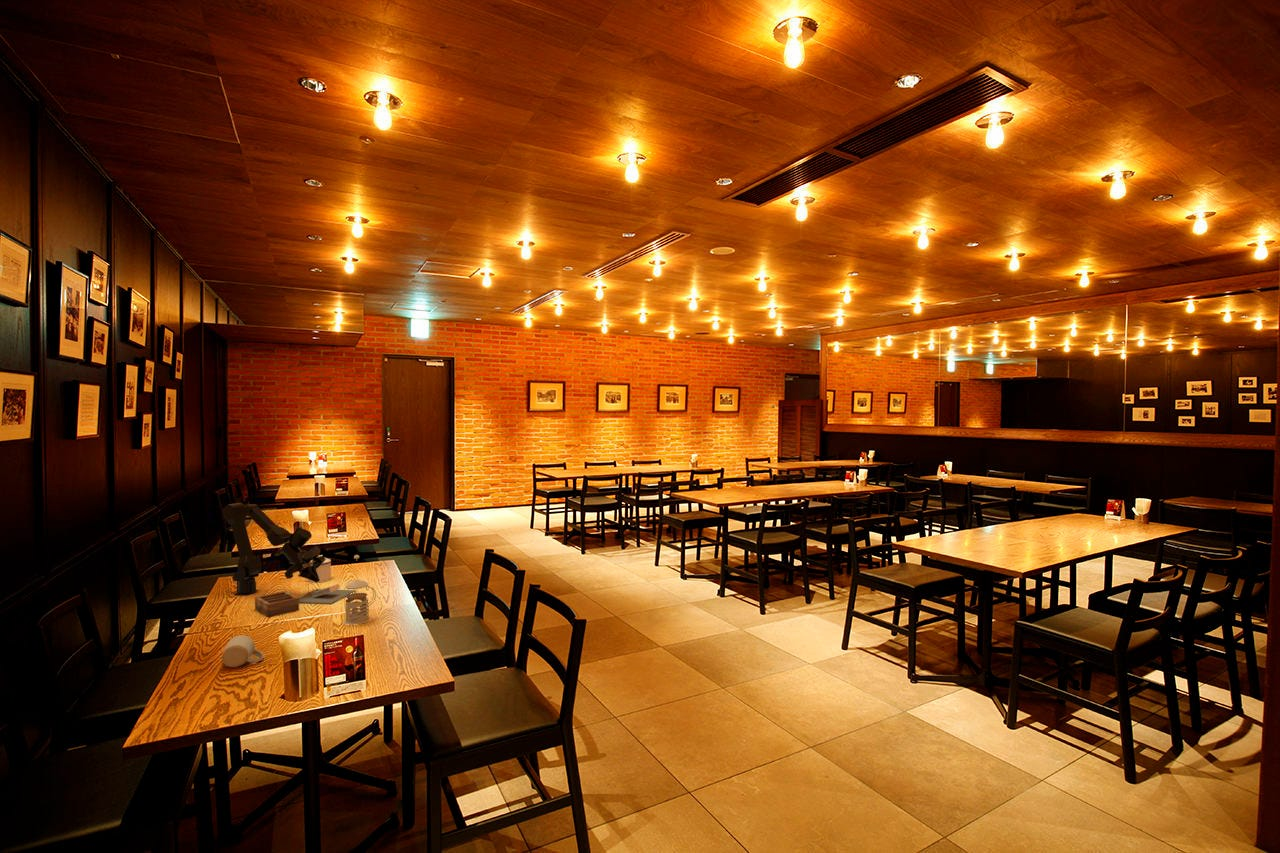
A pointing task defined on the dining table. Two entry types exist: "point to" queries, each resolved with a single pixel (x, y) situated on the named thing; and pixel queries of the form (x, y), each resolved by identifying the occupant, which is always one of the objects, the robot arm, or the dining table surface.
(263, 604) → the slot box
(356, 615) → the french press
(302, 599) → the rubber mat
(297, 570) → the robot arm
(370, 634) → the dining table surface
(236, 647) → the ceramic mug
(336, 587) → the wooden block
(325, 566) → the teacup with lid
